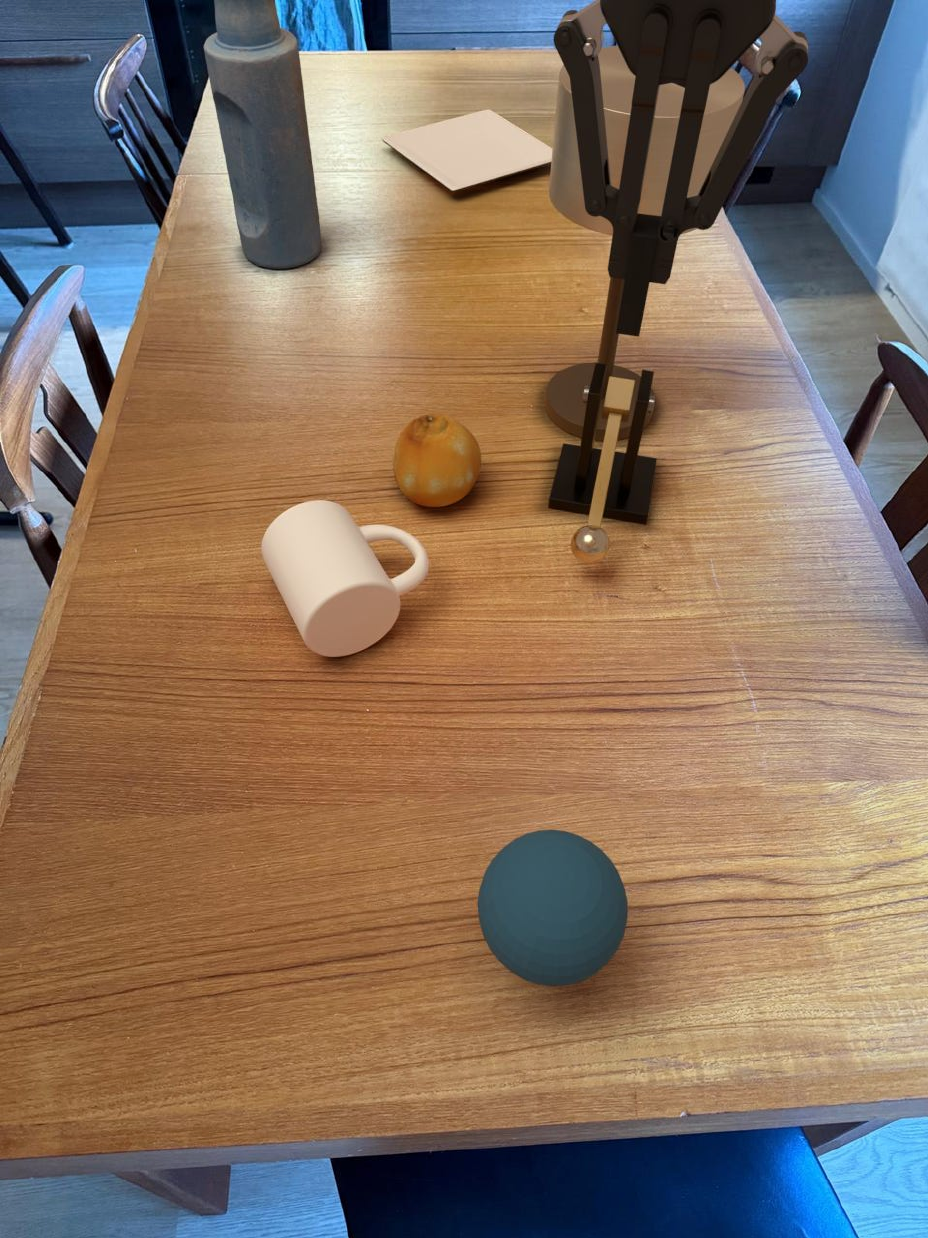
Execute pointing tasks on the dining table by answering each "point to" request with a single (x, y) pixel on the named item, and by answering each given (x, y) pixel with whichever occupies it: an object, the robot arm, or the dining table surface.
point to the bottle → (264, 133)
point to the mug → (337, 576)
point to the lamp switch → (604, 473)
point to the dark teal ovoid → (552, 908)
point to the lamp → (569, 201)
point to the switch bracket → (628, 469)
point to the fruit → (436, 460)
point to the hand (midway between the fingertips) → (629, 323)
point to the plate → (470, 150)
